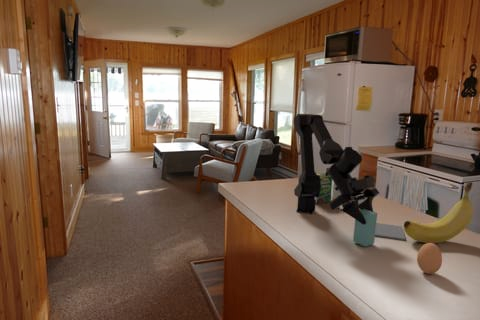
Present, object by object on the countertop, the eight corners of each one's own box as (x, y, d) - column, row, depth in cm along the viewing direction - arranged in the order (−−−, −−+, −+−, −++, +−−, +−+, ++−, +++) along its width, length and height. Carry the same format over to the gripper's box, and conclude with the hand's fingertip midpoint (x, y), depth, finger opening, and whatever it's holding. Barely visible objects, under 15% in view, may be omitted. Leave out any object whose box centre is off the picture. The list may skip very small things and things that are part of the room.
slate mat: (366, 234, 115) (366, 233, 115) (365, 223, 126) (366, 221, 126) (405, 240, 111) (405, 238, 111) (401, 227, 122) (401, 226, 122)
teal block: (353, 241, 108) (355, 211, 107) (361, 238, 111) (364, 209, 109) (365, 246, 105) (368, 215, 103) (374, 243, 107) (377, 213, 106)
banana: (407, 246, 107) (415, 184, 103) (397, 238, 113) (404, 180, 109) (472, 244, 110) (482, 184, 106) (459, 237, 116) (467, 179, 112)
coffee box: (316, 204, 147) (318, 174, 144) (312, 202, 149) (314, 173, 147) (331, 202, 150) (333, 173, 148) (326, 200, 153) (329, 172, 150)
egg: (429, 280, 87) (434, 249, 86) (410, 269, 92) (414, 240, 91) (445, 276, 89) (449, 246, 88) (425, 266, 94) (429, 237, 93)
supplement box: (348, 200, 154) (351, 173, 152) (331, 198, 156) (334, 171, 153) (347, 195, 161) (349, 169, 159) (331, 194, 163) (333, 168, 161)
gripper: (340, 169, 101) (370, 216, 94) (377, 163, 112) (405, 204, 105) (318, 188, 109) (344, 233, 102) (354, 181, 120) (379, 221, 113)
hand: (369, 222), depth 105 cm, fingers closed on teal block, 4 cm apart
